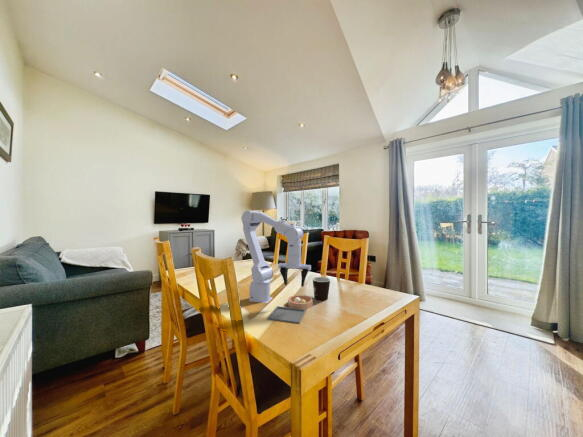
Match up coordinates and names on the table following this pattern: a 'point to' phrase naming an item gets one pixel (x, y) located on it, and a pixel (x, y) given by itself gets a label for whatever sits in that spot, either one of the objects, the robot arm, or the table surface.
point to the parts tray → (287, 314)
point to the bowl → (300, 305)
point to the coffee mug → (321, 288)
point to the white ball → (297, 300)
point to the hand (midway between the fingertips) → (294, 285)
